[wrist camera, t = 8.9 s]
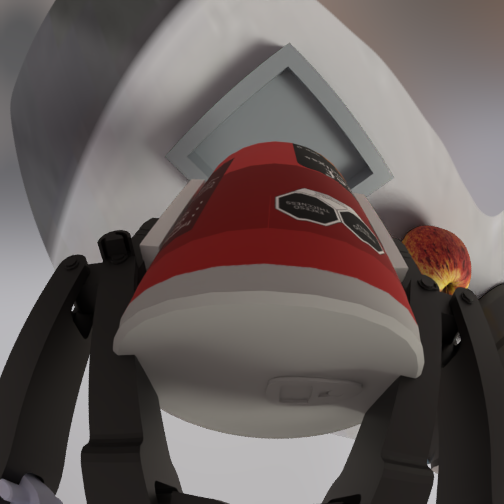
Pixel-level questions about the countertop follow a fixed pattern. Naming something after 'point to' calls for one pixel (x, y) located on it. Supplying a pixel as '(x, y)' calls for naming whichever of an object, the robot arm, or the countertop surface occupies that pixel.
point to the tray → (283, 124)
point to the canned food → (272, 303)
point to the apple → (440, 257)
